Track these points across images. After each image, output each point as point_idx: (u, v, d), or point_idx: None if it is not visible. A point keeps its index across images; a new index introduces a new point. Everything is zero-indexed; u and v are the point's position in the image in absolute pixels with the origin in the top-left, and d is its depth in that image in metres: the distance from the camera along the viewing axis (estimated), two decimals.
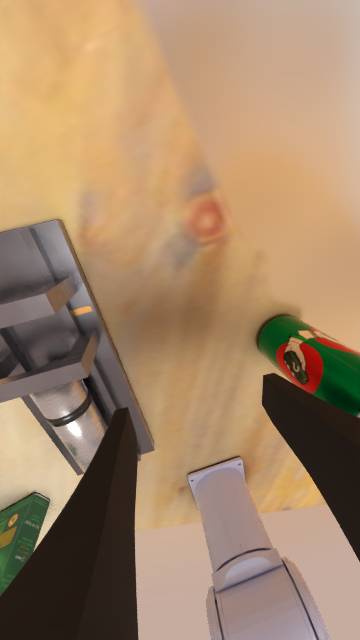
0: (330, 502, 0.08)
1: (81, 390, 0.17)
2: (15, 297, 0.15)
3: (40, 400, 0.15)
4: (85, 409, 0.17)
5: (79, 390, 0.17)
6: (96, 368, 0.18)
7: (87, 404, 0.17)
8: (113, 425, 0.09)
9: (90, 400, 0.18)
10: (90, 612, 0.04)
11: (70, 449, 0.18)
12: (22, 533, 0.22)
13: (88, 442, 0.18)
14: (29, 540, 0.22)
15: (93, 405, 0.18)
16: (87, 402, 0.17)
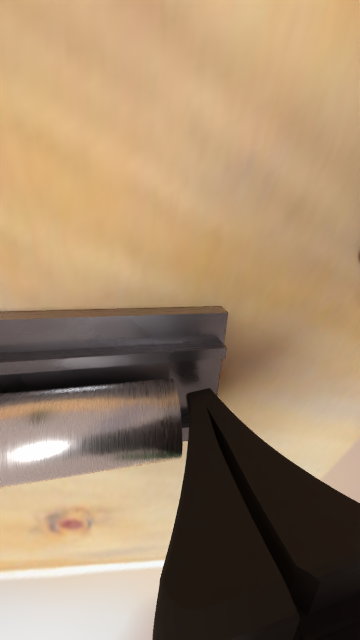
0: None
1: None
2: None
3: None
4: None
5: None
6: None
7: None
8: (194, 405, 0.09)
9: None
10: None
11: (20, 484, 0.08)
12: None
13: (2, 457, 0.07)
14: None
15: None
16: None
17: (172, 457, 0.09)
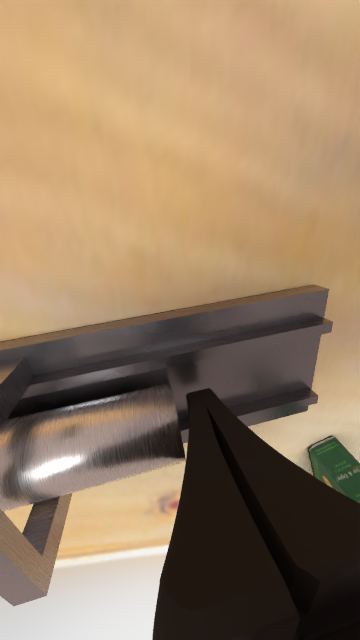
0: None
1: None
2: None
3: None
4: None
5: None
6: (78, 374, 0.10)
7: None
8: (194, 405, 0.09)
9: None
10: None
11: (36, 502, 0.08)
12: (350, 492, 0.15)
13: (13, 481, 0.08)
14: None
15: None
16: None
17: (176, 461, 0.09)
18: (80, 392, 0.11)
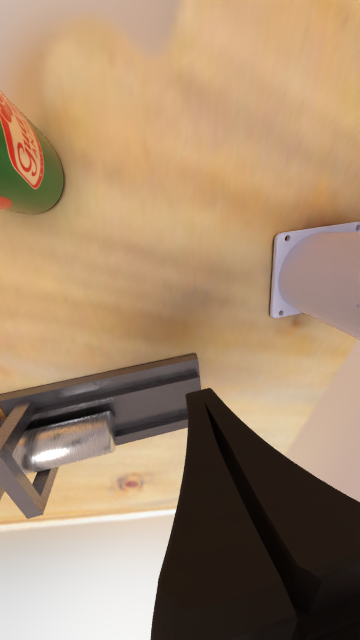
0: None
1: None
2: None
3: None
4: None
5: None
6: (59, 408, 0.19)
7: None
8: (194, 405, 0.09)
9: None
10: None
11: (37, 471, 0.18)
12: None
13: (27, 460, 0.17)
14: None
15: None
16: None
17: (105, 452, 0.18)
18: (61, 415, 0.20)
